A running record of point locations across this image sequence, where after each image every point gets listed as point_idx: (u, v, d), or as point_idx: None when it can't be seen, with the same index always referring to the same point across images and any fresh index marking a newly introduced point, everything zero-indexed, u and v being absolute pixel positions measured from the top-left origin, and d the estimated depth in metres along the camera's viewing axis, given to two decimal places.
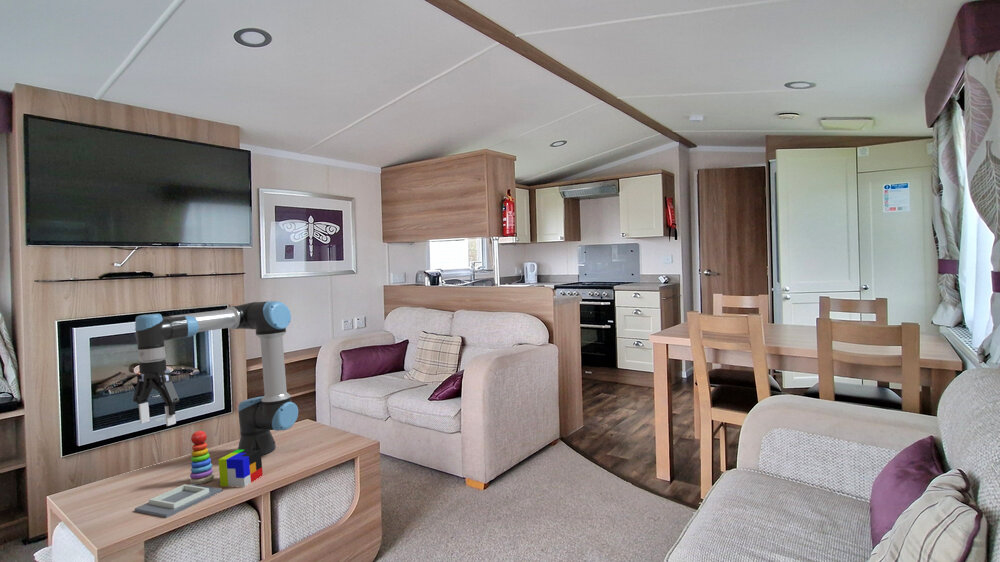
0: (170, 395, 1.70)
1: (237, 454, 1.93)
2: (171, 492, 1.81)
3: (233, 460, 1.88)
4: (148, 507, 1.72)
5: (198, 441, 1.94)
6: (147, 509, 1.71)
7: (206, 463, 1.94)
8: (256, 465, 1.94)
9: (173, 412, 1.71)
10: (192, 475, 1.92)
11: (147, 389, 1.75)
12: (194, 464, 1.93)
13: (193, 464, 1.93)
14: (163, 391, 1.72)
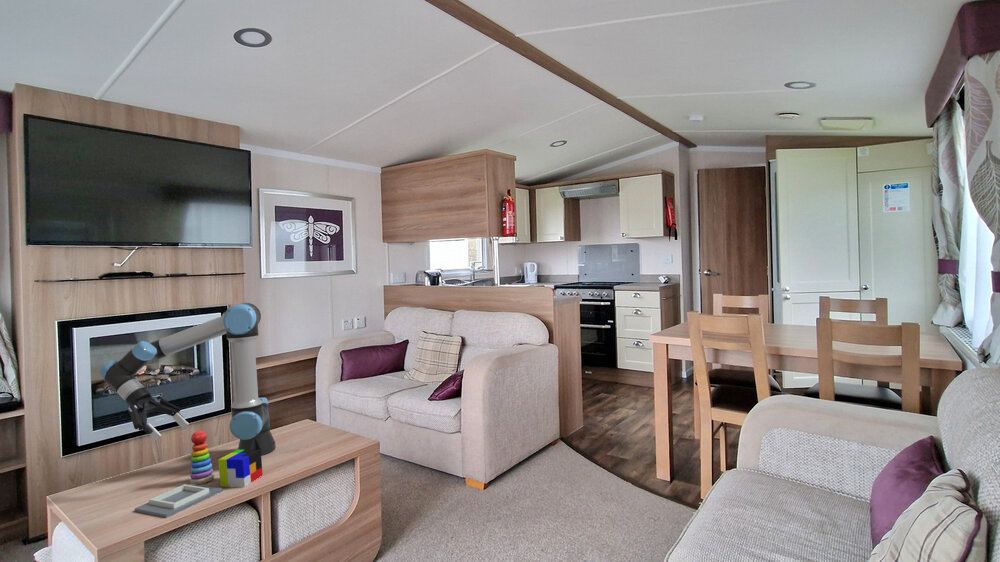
0: (133, 423, 1.89)
1: (237, 454, 1.93)
2: (171, 492, 1.81)
3: (233, 460, 1.88)
4: (148, 507, 1.72)
5: (198, 441, 1.94)
6: (147, 509, 1.71)
7: (206, 463, 1.94)
8: (256, 465, 1.94)
9: (147, 431, 1.89)
10: (192, 475, 1.92)
11: (158, 409, 2.01)
12: (194, 464, 1.93)
13: (193, 464, 1.93)
14: (140, 417, 1.93)
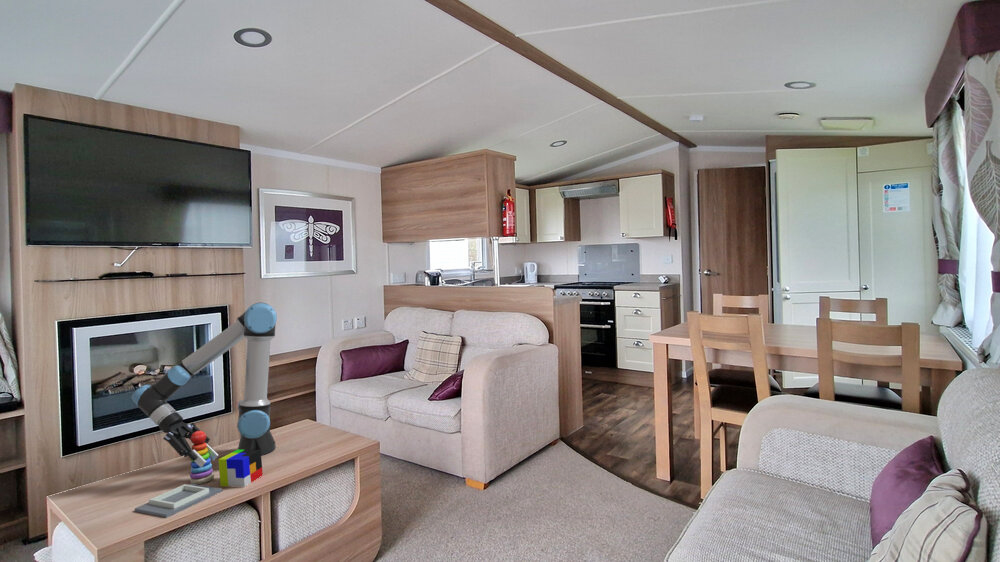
0: (176, 450, 1.90)
1: (237, 454, 1.93)
2: (171, 492, 1.81)
3: (233, 460, 1.88)
4: (148, 507, 1.72)
5: (197, 442, 1.93)
6: (147, 509, 1.71)
7: (206, 463, 1.94)
8: (256, 465, 1.94)
9: (193, 458, 1.91)
10: (192, 475, 1.92)
11: (189, 436, 1.98)
12: (194, 464, 1.93)
13: (193, 464, 1.93)
14: None
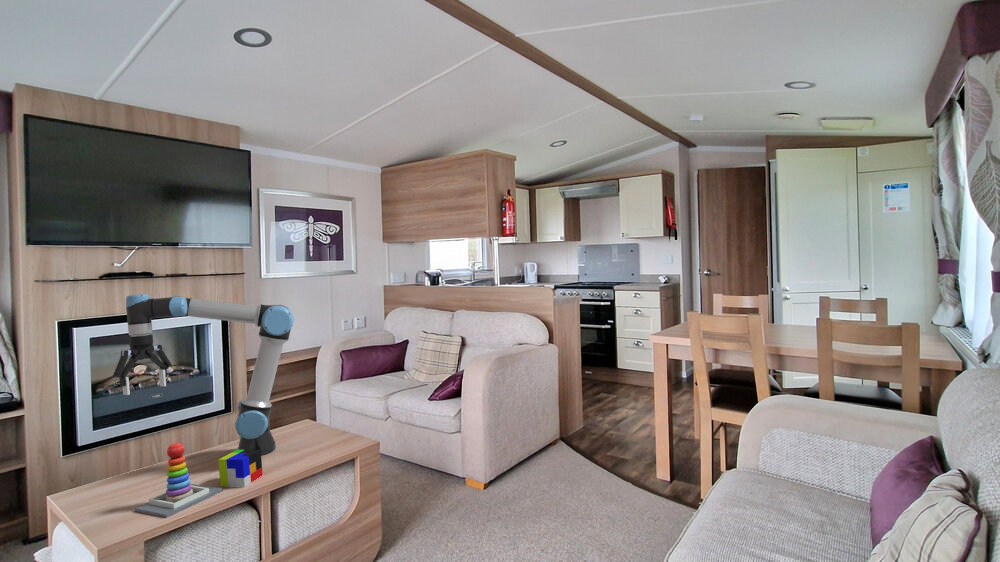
0: (116, 369, 1.91)
1: (237, 454, 1.93)
2: None
3: (233, 460, 1.88)
4: (148, 507, 1.72)
5: (174, 455, 1.76)
6: (147, 509, 1.71)
7: (183, 479, 1.77)
8: (256, 465, 1.94)
9: (121, 384, 1.91)
10: (168, 492, 1.75)
11: (151, 358, 2.02)
12: (170, 480, 1.75)
13: (169, 480, 1.76)
14: (127, 363, 1.94)
